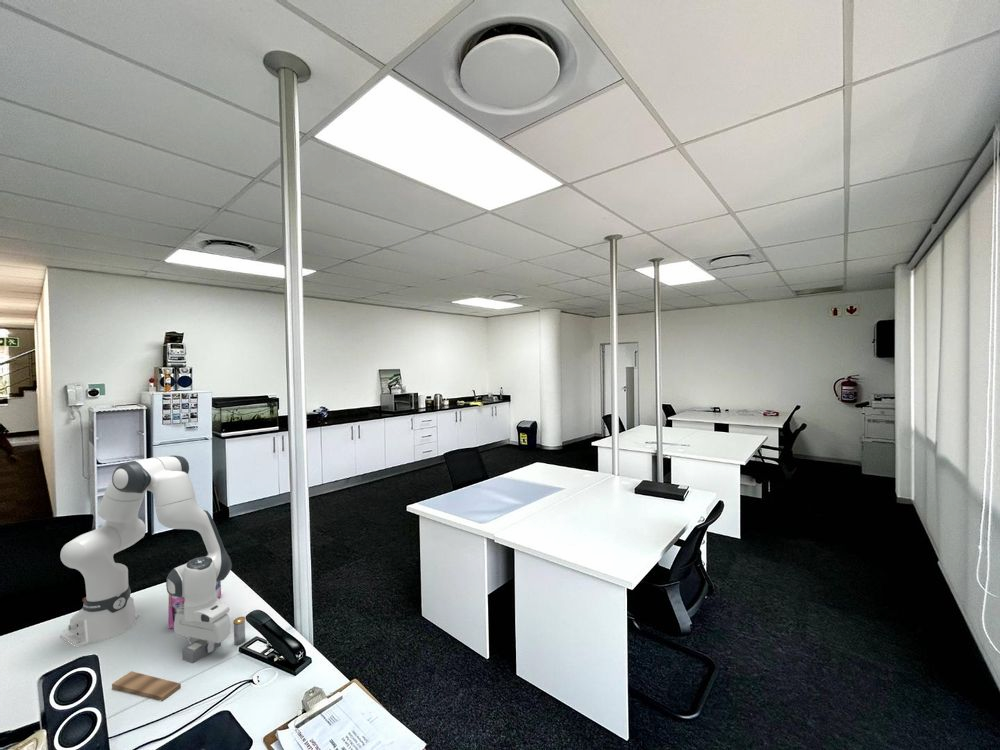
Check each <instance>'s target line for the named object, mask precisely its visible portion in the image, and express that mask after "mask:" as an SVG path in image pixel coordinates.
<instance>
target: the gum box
mask: <svg viewBox="0 0 1000 750" xmlns="http://www.w3.org/2000/svg"><path fill="white" fill-rule="evenodd" d="M221 583H222V581H219V582H217V583H216V587H215V590H216V593H217V598H218V599H220V597H221V596H222V585H221ZM184 602H185V598H184V597H181V598H180V597H176V596H173V595H170V594H168V624H167V625H168V629H174V621H175V616H176V614H177V608H178V607H179V606H180V605H184Z"/></svg>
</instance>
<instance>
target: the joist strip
mask: <svg viewBox="0 0 1000 750" xmlns="http://www.w3.org/2000/svg"><path fill="white" fill-rule="evenodd" d="M181 687H182V685H181V683H180V682H175V681H172V680H167V679H164V678H160V677H156V676H153V675H147V674H144V673H139V672H136V671H133V670H132V671H129V672H127V673H126V674H124V675H123V676H122V677H120V678H119V679H117V680H116V681H114V682H113V683H111V689H112V691H118V692H123V693H127V694H131V695H135V696H138V697H139V696H140V697H143V698H146V699H147V698H148V699H152V700H156V701H159V700H161V701H160V702H164V701H165V700H166V699H168V698H169V697H171V696H172V695H173V694H174V693H176V692H177V691H178V690H180V689H181ZM163 700H164V701H163Z"/></svg>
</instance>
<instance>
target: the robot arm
mask: <svg viewBox="0 0 1000 750" xmlns="http://www.w3.org/2000/svg"><path fill="white" fill-rule="evenodd" d="M189 471H190V465H189V462H188V460H187V459H186V458H185V457H184V456H181V455H168V456H166V455H165V456H154V457H153V456H152V457H150V458H144V459H139V460H131V461H127V462H124V463H122V464H120V465H118V466H117V467H115V469H114V471H113V472H112V473H113V474H112V477H111V479H110V481H109V483H108V485H107V487H106V489H105V491H104V493H103V497H102V499H101V502H100V503H99V507H98V509H97V514H98V515H99V517H100V518H101V519H102V520H104V521H105V522H104V524H103V525H102V526H101V527H98V528H96V529H92V530H90V531H88V532H85V533H82V534H80V535H78V536H76V537H75V538H73V539H72V540H70V541H69V542H67V543H65V544H64V545H63V547H62V548H61V550H60V556H59V557H60V561H61V562H62V564H63V565H64V566H65V567H67V568H69V569H75V570H76V571H78V572H80V574H81V575H82V576H83V578H84V584H85V594H86V596H85V597H83V598H82V601H81V602H83V606H82V608H81V609H80V610H79V611H78V612H76V613H75V614H74V615H72V617H70V620H69V624H68V627H67V628H66V629H65V630H64V631H62V632H61V633H60V634H59V637H60V638H61V639H62V638H63V639H62V640H64V639H65V640H67V641H69V642H70V643H72V644H73V645H75V646H81V647H83V646H82V645H84V646H86V645H89V644H93V643H99V642H103V641H107V640H110V639H113V638H115V637H117V636H119V635H121V634H123V633H126V632H127V631H129V630H130V629H132V628H133V627H134V625H136V622H137V621H136V620H137V619H138V618H139V617H140V614H139V612H136V607H135V601H134V598H133V597H131V592H132V591H131V586H130V585H129V569H128V566H126V565H125V564H122V563H119V562H116V561H115V559H114V555H115V554H117V553H119V552H121V551H124V550H125V549H127V548H129V547H131V546H133V545H135V544H136V543H137V542H139V541H140V540H141V539H143V538H144V536H145V534H146V531H147V528H146V527H147V526H146V524H145V522H144V521H143V520H142V519H140V518H139V512H140V508H141V505H142V503H143V500H144V499H145V495H146V493H147V491H149V492H150V493H152V494H153V496H154V497H153V498H154V507H155V513H156V518H157V521H158V522H159V523H160V525H162V526H163V527H165V528H168V529H174V530H193V531H196V532H198V533H199V534H200V536H201V538H202V541H203V543H204V545H205V548H206V551H207V555H206V556H200V557H195V558H193V559H190V560H189V561H188V562H186V563H184V564H181V565H179V566H177V567H174V568H173V569H171V570H170V572H169V573H168V574H167V577H166V581H165V584H166V585H165V586H166V591H167V594H168V595H169V594H170V595H173V596H176V597H180V598H181V597H184V598H185V602H184V605H180V606H179V607H178V608H177V614H176V616H175V621H174V628H173V631H174V634H175V635H177V636H183V637H186V639H187V642H188V644H189V645H191V644H192V643H194V642H196V641H197V640H199V639H201V640H206V641H207V643H209V644H208V646H207V647H205V649H206V650H205V651H206V652H209V653H208V654H210V653H212V652H213V651H214V650H215V649H214V644H215V643H220V642H221V643H222V642H224V640H226V639H228V637H229V636H230V634H231V622H230V621H231V619H230V616H229V614H228V613H229V612H230V606H229V605H228V604H226V603H225V602H223V601H222V600H221V599H220V598H217V593H216V590H215V587H216V583H217V582H219V581H221V582H222V581H224V580H225V579H226V578H227V577H228V575H229V574H230V572H231V571H232V569H233V568H232V567H233V564H232V560H231V557H230V556H229V554H228V552H227V550H226V548H225V547H224V544H223V541H222V538H221V536H220V534H219V531H218V529H217V526H216V523H215V521H214V519H213V517H212V515H211V513H210V511H208V510H204V509H202V507H200V506H199V504H198V501H197V499H196V494H195V489H194V485H193V482H192V481H191V478H190V476H189ZM65 640H64V641H65ZM67 641H66V642H67ZM70 643H69V644H70ZM72 644H71V645H72ZM73 645H72V646H73ZM75 646H74V647H75Z"/></svg>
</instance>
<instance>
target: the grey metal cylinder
mask: <svg viewBox="0 0 1000 750" xmlns="http://www.w3.org/2000/svg"><path fill="white" fill-rule="evenodd" d="M232 621H233V643H234V644H233V645H234V646H240V645H242V644H244V643H246V622H245V621H246V617H245V616H238V617H236V618H235V619H233V620H232Z"/></svg>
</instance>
